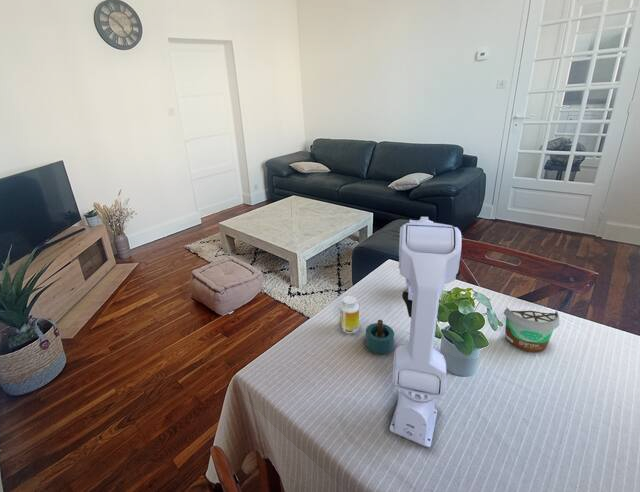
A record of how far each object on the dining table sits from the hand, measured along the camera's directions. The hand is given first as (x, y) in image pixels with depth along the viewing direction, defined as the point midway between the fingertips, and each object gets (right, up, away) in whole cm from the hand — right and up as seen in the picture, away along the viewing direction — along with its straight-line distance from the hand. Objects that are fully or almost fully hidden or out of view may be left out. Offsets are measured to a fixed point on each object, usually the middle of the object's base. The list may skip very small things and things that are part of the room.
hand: (416, 309), depth 91 cm
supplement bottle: (-16, -9, +11) cm, 21 cm away
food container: (+29, -10, -2) cm, 31 cm away
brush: (-9, -10, +3) cm, 14 cm away
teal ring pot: (-9, -11, +3) cm, 14 cm away
